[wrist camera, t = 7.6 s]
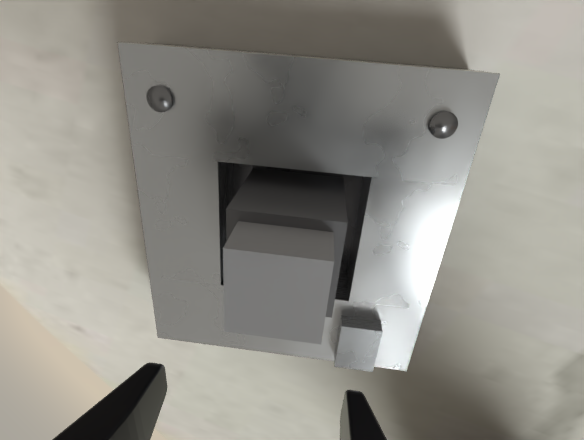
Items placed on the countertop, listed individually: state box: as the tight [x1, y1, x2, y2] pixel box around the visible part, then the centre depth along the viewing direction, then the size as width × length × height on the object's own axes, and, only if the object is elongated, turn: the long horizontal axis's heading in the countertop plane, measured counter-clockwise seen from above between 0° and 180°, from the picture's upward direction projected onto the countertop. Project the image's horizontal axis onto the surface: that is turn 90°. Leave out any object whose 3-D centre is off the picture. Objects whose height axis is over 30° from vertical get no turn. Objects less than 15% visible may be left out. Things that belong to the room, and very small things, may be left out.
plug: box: [223, 168, 348, 345], centre depth 15 cm, size 4×4×7 cm
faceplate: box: [118, 42, 500, 372], centre depth 17 cm, size 15×14×4 cm
